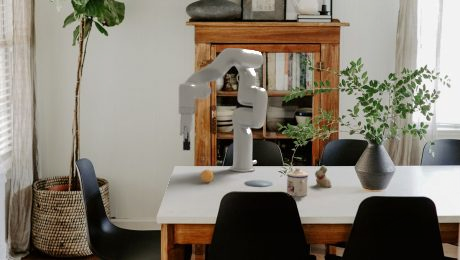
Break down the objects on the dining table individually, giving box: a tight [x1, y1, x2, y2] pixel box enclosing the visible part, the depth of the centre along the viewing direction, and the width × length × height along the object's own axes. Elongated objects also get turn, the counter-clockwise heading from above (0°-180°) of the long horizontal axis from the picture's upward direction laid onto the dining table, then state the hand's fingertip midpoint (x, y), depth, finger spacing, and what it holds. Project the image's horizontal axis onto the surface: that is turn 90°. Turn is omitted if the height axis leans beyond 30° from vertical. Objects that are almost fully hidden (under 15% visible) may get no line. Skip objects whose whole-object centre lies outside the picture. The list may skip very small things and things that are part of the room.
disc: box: [244, 179, 274, 188], centre depth 320 cm, size 13×13×1 cm
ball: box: [200, 169, 214, 184], centre depth 320 cm, size 6×6×6 cm
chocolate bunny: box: [314, 165, 332, 189], centre depth 316 cm, size 6×8×10 cm
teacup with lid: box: [286, 167, 309, 197], centre depth 298 cm, size 12×9×12 cm
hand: (186, 149), depth 318 cm, fingers closed
